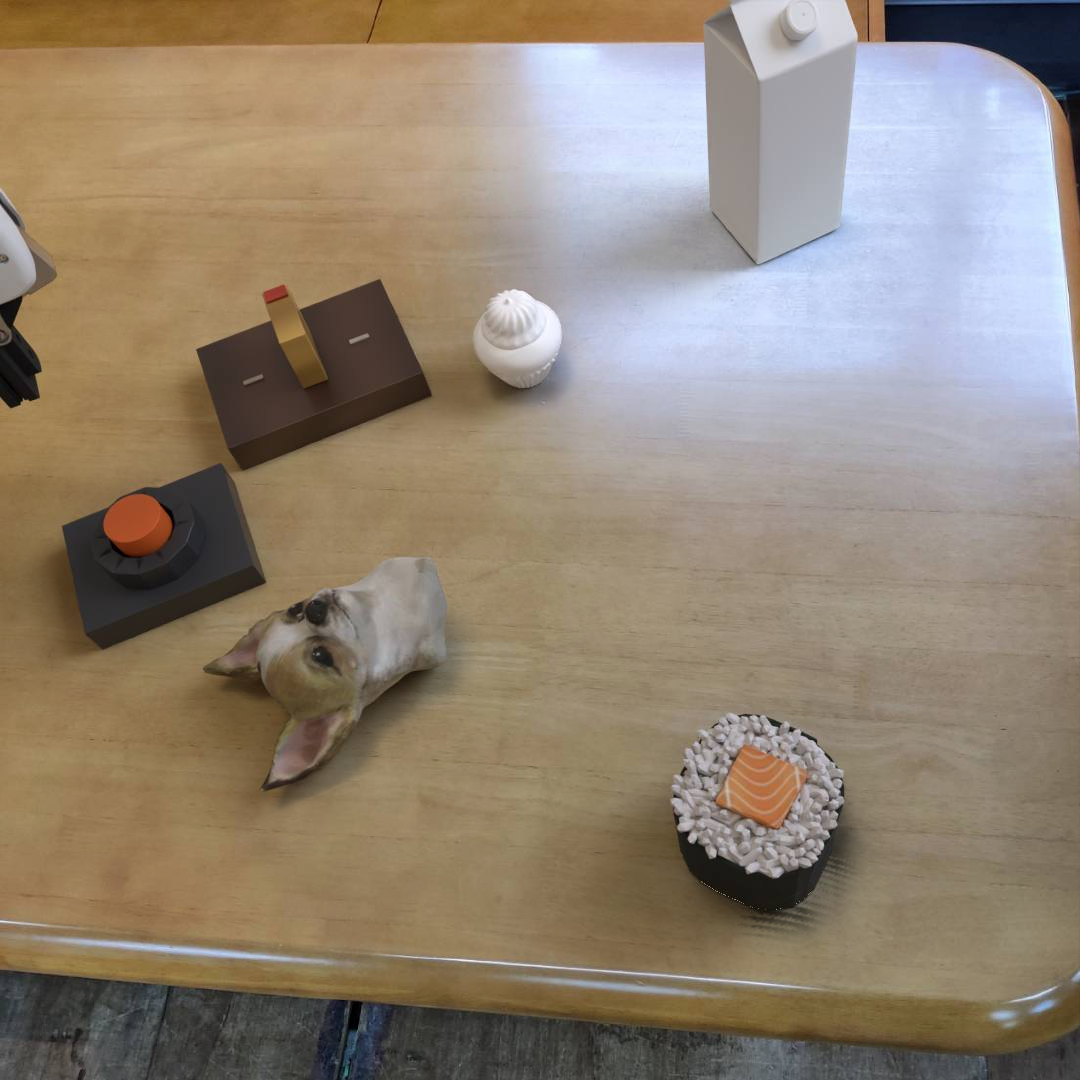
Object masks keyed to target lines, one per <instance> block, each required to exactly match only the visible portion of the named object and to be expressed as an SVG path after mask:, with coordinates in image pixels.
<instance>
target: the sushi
mask: <svg viewBox="0 0 1080 1080" xmlns="http://www.w3.org/2000/svg"><path fill="white" fill-rule="evenodd" d="M696 735H697V737H698V739H699V741H697V740H694V742H693V743H692V744H691V745H690V747H691V748H688V747H685V749H684V750H683V751H682V755H683V756H684V758H683V759H682V763H683V768H682V769H681V770H680V771H681V772H680V774H674V775H673V776H672V778H671V780H672V782H673V784H672V785H670V792H671V793H672V794H673V796H672V798H670V799H669V803H670V807H671V808H672V811H673V812H672V813H673V817H674V824H675V829H676V835H677V840H678V847H679V852H680V854H681V853H682V854H681V856H682V855H683V856H682V858H683V860H684V863H685V865H686V867H687V866H688V867H687V869H688V868H689V869H688V871H689V873H691V874H692V875H693V876H694V877H695V879H696V880H697V881H698V882H700V883H701V884H702V885H704V886H705V887H707V888H709V889H710V890H711V891H713V892H715V893H716V894H718V895H721V896H723V897H725V898H728V899H730V900H732V901H734V902H736V903H738V904H741V905H743V906H745V907H748V908H750V909H752V910H756V911H763V912H769V913H775V912H779V911H783V910H787V909H791V908H794V907H796V906H797V905H799V904H801V903H802V902H804V901H805V900H807V899H808V898H809V896H810V895H811V894H812V893H813V892H814V891H815V889H816V887H817V885H818V883H819V881H820V878H821V877H822V874H823V872H824V870H825V868H826V866H827V864H828V862H829V859H830V857H831V856H832V852H833V848H834V842H835V839H836V838H835V837H836V832H837V827H838V826H839V825H838V823H839V820H840V817H841V814H842V811H843V807H844V804H845V784H844V780H843V777H844V775H845V770H843V769H839V767H838V766H837V764H836V762H835V761H834V760H833V758H832V756H830V755H829V754H828V753H827V752H826V751H825V750H824V749H823V748H822V747H821V746H820V745H819V744H818V739H817V738H816V737H814V736H812V735H810V734H809V733H806V732H804V731H802V730H801V729H800V728H795V727H794V726H790V724H789V722H788V721H783V722H781V721H779V720H776V719H774V718H771V717H769V716H766V715H765V714H763V715H760V714H753V713H752V714H751V713H743V714H736V713H732V712H727V713H726V715H725V716H721V715H720V716H719V717H717V722H716V723H714V724H713V725H712V726H711V727H710V728H709V729H707V730H705V729H702V728H700V729H699V730H697V731H696ZM829 856H830V857H829ZM822 871H823V872H822ZM701 881H702V882H703V883H702V882H701ZM704 883H705V884H706V885H705V884H704ZM707 885H708V886H710V887H711V888H710V887H708V886H707ZM712 888H713V889H714V890H713V889H712ZM715 890H716V891H718V892H716V891H715ZM811 891H812V892H811ZM719 892H720V893H719ZM810 892H811V893H810ZM721 893H722V894H721ZM809 893H810V894H809ZM723 894H725V895H726V896H725V895H723ZM808 894H809V895H808ZM728 896H729V897H728ZM732 898H733V899H732ZM804 898H805V899H804ZM734 899H736V900H734ZM737 900H738V901H737ZM739 901H740V902H739ZM799 901H800V902H799ZM741 902H742V903H741ZM743 903H744V904H743ZM796 903H797V904H796ZM750 906H751V907H750ZM752 907H753V908H752ZM758 908H759V909H758ZM780 908H781V909H780ZM765 909H766V910H765ZM776 909H777V910H776Z"/></svg>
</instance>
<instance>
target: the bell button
mask: <svg viewBox="0 0 1080 1080" xmlns="http://www.w3.org/2000/svg"><path fill="white" fill-rule="evenodd" d="M103 526H104V531H105V533H106V535H107V536H108V537H109V538H110V540H111V541H112V542H113V543H114V544H115V545H116V546H117V547H118V548H119V549H120V550H121V551H122V552H123V553H124V554H126V555H128V556H132V557H144V556H147V555H149V554H152V553H154V552H156V551H158V550H159V549H160V548H161V547H162V546H163V545H164V544H165V543H166V542H167V541H168V540H169V538H170V536H171V534H172V529H173V524H172V520H171V518H170V517H169V515H168V514H167V513H166V512H165V511H164V509H163V508H162V507H161V506H160V504H159V503H158V502H157V501H156V500H155V499H154V498H153V497H151V496H148V495H144V494H135V495H130V496H127V497H125V498H123V499H121V500H119V501H118V502H116V503H115V504H114V505H113V506H112V507H111V508H110V509H109V510H108V512H107V514H106V516H105V518H104V523H103Z"/></svg>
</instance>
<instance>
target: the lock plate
mask: <svg viewBox="0 0 1080 1080" xmlns="http://www.w3.org/2000/svg"><path fill="white" fill-rule="evenodd" d="M299 310H300V312H301V314H302V316H303V318H304V320H305V322H306V324H307V326H308V328H309V330H310V333H311V335H312V338H313V341H314V343H315V346H316V349H317V351H318V354H319V357H320V359H321V362H322V364H323V367H324V370H325V372H326V375H327V378H328V380H326V381H323V382H320V383H318V384H315V385H312V386H310V387H307V388H305V389H304V388H303V387H302V385H301V383H300V381H299V380H298V378H297V376H296V374H295V372H294V370H293V368H292V366H291V365H290V363H289V361H288V359H287V357H286V355H285V353H284V351H283V349H282V348H281V346H280V344H279V341H278V338H277V336H276V333H275V330H274V327H273V324H272V322H271V320H268V321H265V322H263V323H261V324H258V325H255V326H253V327H250V328H248V329H245V330H242V331H239V332H237V333H235V334H232V335H229V336H226V337H224V338H221V339H219V340H216V341H214V342H211V343H208V344H206V345H203V346H200V347H198V348H196V349H195V351H196V354H197V357H198V361H199V364H200V367H201V369H202V372H203V376H204V379H205V383H206V384H207V388H208V391H209V392H208V393H209V395H210V398H211V401H212V404H213V407H214V410H215V413H216V416H217V420H218V422H219V426H220V429H221V431H222V435H223V439H224V441H225V444H226V447H227V450H228V452H229V453H230V454H231V456H232V457H233V459H234V460H235V463H237V465H238V467H239V468H240V469H241V471H242V472H244V471H246V470H249V469H251V468H254V467H257V466H259V465H261V464H264V463H267V462H269V461H271V460H274V459H277V458H279V457H281V456H284V455H287V454H289V453H292V452H295V451H297V450H299V449H303V448H304V447H307V446H309V445H312V444H314V443H317V442H319V441H321V440H324V439H327V438H329V437H332V436H335V435H337V434H339V433H342V432H344V431H347V430H350V429H353V428H355V427H358V426H359V425H362V424H364V423H367V422H369V421H372V420H375V419H377V418H380V417H383V416H385V415H387V414H389V413H393V412H395V411H397V410H400V409H402V408H405V407H407V406H409V405H412V404H415V403H418V402H421V401H422V400H425V399H428V398H430V397H432V392H431V388H430V387H429V383H428V381H427V379H426V376H425V373H424V371H423V369H422V367H421V364H420V362H419V360H418V358H417V356H416V353H415V351H414V349H413V346H412V344H411V343H410V341H409V338H408V336H407V333H406V332H405V329H404V328H403V325H402V323H401V321H400V319H399V317H398V314H397V312H396V310H395V307H394V305H393V304H392V301H391V299H390V297H389V295H388V292H387V290H386V288H385V286H384V283H383V282H382V280H381V279H380V278H378V279H376V280H373V281H370V282H368V283H365V284H362V285H360V286H357V287H355V288H352V289H349V290H347V291H344V292H342V293H339V294H337V295H334V296H331V297H329V298H326V299H323V300H320V301H318V302H315V303H313V304H310V305H308V306H305V307H301V308H299Z"/></svg>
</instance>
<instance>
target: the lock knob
mask: <svg viewBox="0 0 1080 1080" xmlns="http://www.w3.org/2000/svg"><path fill="white" fill-rule="evenodd" d="M261 296H262V299H263V303H264V305H265V307H266V311H267V313H268V316H269V318H270V321H271V322H272V324H273V327H274V330H275V333H276V336H277V338H278V341H279V344H280V346H281V348H282V349H283V351H284V353H285V355H286V357H287V359H288V361H289V363H290V365H291V366H292V368H293V370H294V372H295V374H296V376H297V378H298V380H299V381H300V383H301V385H302V387H303V388H304V389H305V388H307V387H310V386H312V385H315V384H318V383H320V382H323V381H326V380H328V378H327V375H326V372H325V370H324V367H323V364H322V362H321V359H320V357H319V354H318V351H317V349H316V346H315V343H314V341H313V338H312V335H311V333H310V330H309V328H308V326H307V324H306V322H305V320H304V318H303V316H302V314H301V312H300V308H299V305H298V304H297V302H296V300H295V298H294V296H293V294H292V292H291V290H290V288H289V286H288V284H281V285H277V286H275V287H273V288H271V289H267V290H265V291H262V293H261Z"/></svg>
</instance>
